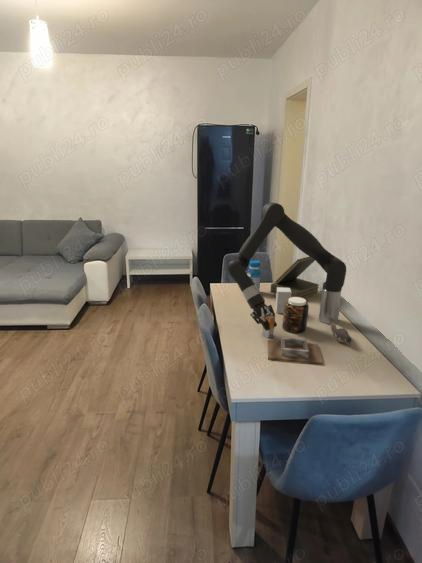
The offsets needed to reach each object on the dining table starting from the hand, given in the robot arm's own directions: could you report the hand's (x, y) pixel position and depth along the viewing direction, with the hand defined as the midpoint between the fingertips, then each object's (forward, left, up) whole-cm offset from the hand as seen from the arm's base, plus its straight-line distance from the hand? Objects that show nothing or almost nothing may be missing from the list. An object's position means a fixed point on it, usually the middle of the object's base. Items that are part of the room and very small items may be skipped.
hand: (271, 328), depth 169 cm
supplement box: (-7, -33, -5) cm, 34 cm away
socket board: (-10, +13, -5) cm, 17 cm away
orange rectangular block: (+1, -1, -5) cm, 5 cm away
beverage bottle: (+10, -60, -5) cm, 61 cm away
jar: (-12, -12, -5) cm, 17 cm away
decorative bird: (-31, -7, -5) cm, 32 cm away
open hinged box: (-15, -65, -5) cm, 67 cm away
